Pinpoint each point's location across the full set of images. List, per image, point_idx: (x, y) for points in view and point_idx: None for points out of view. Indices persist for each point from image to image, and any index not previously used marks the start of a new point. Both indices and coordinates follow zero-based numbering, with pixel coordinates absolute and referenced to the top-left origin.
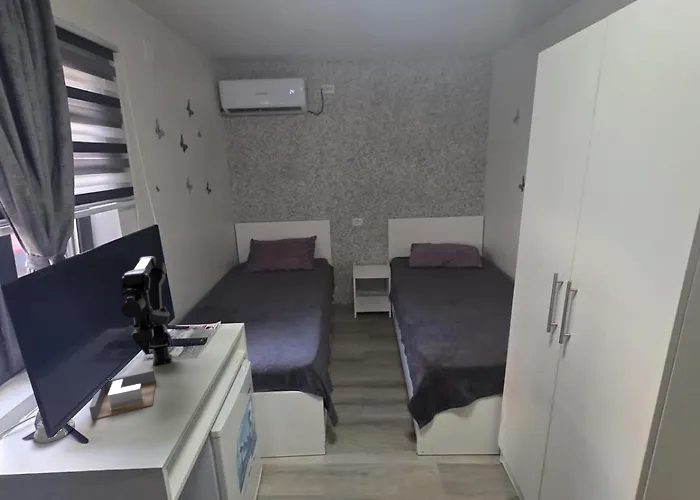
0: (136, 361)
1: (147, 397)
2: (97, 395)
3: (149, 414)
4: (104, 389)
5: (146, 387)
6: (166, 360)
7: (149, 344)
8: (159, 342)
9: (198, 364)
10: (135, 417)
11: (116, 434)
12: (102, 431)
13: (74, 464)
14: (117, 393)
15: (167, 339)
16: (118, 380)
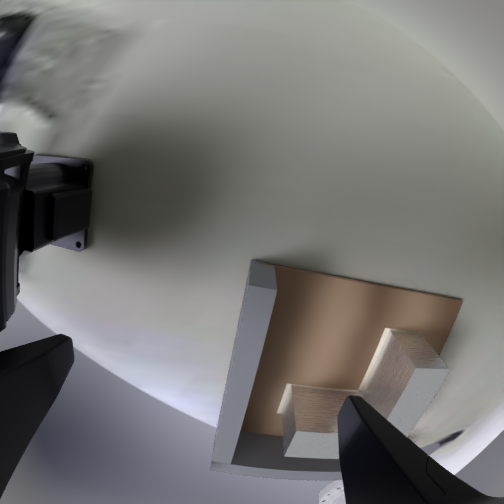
0: (23, 301)
1: (404, 314)
2: (334, 473)
3: (491, 310)
4: (247, 446)
5: (312, 311)
6: (79, 182)
7: (436, 467)
8: (12, 230)
9: (217, 30)
10: (472, 349)
11: (491, 384)
12: (454, 415)
13: (496, 431)
14: (407, 434)
15: (1, 162)
16: (295, 443)
